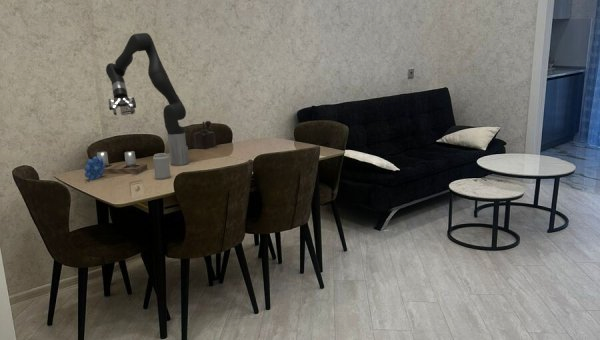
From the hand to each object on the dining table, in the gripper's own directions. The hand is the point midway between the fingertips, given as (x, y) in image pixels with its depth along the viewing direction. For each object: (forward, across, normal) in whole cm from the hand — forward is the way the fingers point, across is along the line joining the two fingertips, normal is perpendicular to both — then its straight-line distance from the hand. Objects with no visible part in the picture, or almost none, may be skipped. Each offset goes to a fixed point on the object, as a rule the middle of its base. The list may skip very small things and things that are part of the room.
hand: (124, 113), depth 283 cm
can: (+51, +12, -10) cm, 53 cm away
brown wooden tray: (+34, -8, +7) cm, 35 cm away
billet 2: (+36, -1, +3) cm, 36 cm away
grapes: (+41, -20, 0) cm, 45 cm away
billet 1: (+30, -14, +10) cm, 34 cm away
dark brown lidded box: (+4, +50, +37) cm, 62 cm away
